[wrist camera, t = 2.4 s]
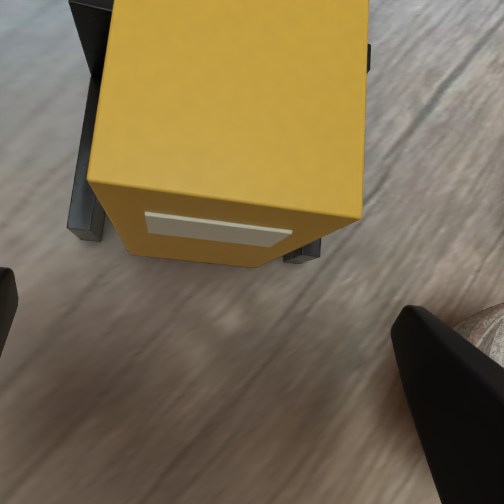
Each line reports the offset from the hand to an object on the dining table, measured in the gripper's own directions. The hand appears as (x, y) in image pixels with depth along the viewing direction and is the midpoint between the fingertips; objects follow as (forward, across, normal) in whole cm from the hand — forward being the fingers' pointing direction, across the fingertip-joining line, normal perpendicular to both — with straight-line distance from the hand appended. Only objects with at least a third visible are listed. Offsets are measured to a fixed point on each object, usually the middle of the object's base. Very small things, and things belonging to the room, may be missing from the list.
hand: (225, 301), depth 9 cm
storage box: (+13, 0, +4) cm, 13 cm away
